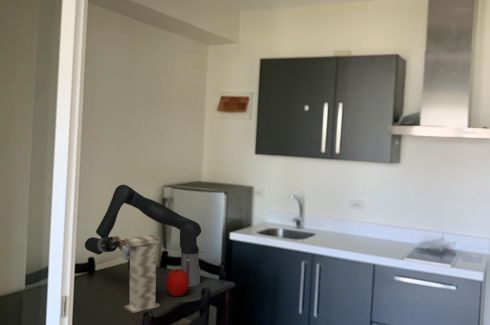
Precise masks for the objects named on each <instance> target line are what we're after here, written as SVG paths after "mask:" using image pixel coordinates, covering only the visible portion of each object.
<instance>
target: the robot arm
mask: <svg viewBox="0 0 490 325" xmlns="http://www.w3.org/2000/svg"><path fill="white" fill-rule="evenodd" d="M124 204H125V205H128V206H131V207H133V208H135V209H137V210H139V212H141V213H142V214H144V215H145V216H147V217H148V218H150V219H151V220H153V221H155V222H157V223H160V224H162V225H165V226H169V227H173V228H176V229H177V230H179V247H180V251H181V252H180V254H181V255H180V260H181V261H180V270H183V271H184V272H185V273H186V274H187V276H188V288H190V287H193V288H194V287H196V286H199V285H200V284H201V282H200V280H201V266H200V265H199V263H200V262H199V260H200V258H199V256H200V255H199V252H200V250H199V249H200V248H199V246H198V244H197V241H198V240H197V238H198V237H199V236H200V235H201V233H202V228H201V225H200V224H199V223H198V222H197V221H195V220H192V219H190V218H188V217H185V216H183V215H180V214H179V213H177V212H175V211H174V210H173V209H170V208H169V207H167V206H165V205H163V204H162V203H160V202H158V201H156V200H153V199H151V198H147V197H145V196H143V195H142V194H140V193H139V192H137V191H136V190H134V188H132V187H130V186H129V185H127V184H119V185H118V186H117V187H115V190H114V192H113V195H112V198H111V200H110V203H109V205H108V206H107V210H106V212H105V214H104V216H103V218H102V220H101V221H100V223H99V224H98V227H97V229H96V230H95V233H96V234H97V235H98V236H99V238H98V237H96V236H95V237H91V236H90V237H89V238H87V239H86V240H85V242H84V248H85V249H86V251H88V252H91V253H92V254H96V255H98V256H99V255H102V254H103V253H112V252H114V251H116V250H117V248H118V247H117V246H120V242H119V241H116V242H115V241H113V237H114V236H110V234H111V232H112V230H113V229H114V226H115V224H116V221H117V218H118V215H119V212H120V210H121V208H122V206H123V205H124ZM121 240H122V239H121ZM122 241H123V242H124V239H123V240H122ZM125 245H128V244H125Z"/></svg>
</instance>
